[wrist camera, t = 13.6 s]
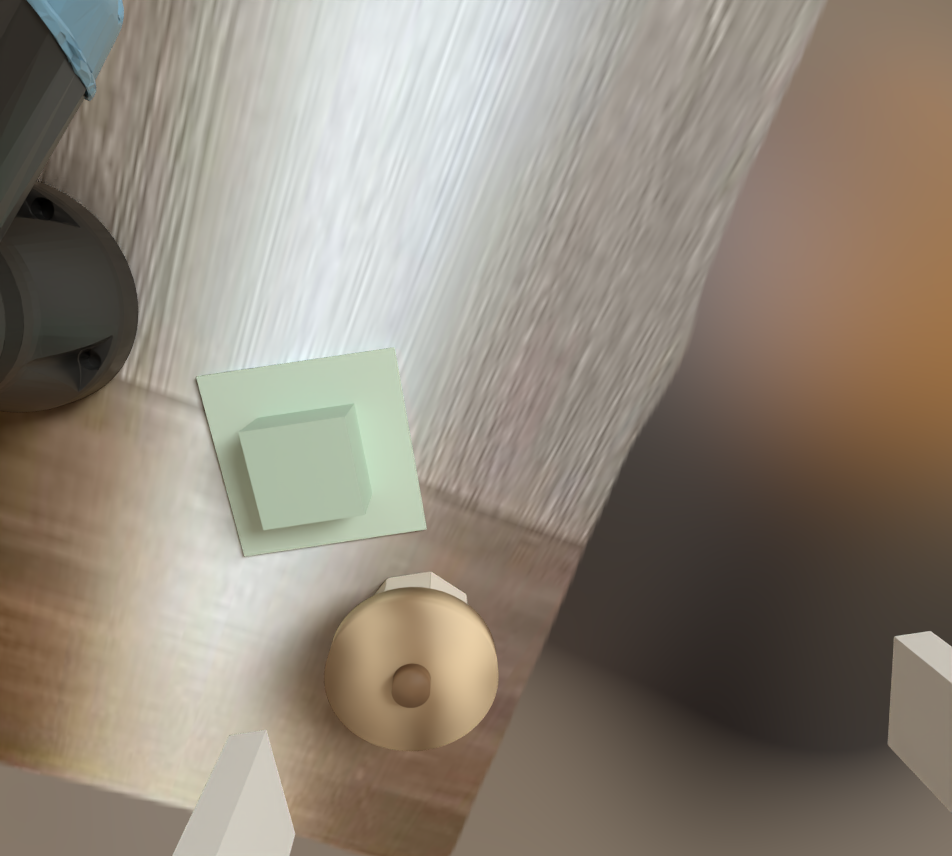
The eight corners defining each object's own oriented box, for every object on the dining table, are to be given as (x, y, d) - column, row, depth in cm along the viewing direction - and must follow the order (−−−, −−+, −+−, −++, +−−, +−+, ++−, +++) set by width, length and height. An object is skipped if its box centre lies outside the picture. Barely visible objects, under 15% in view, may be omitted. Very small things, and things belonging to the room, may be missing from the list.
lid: (347, 741, 44) (340, 777, 41) (313, 600, 41) (302, 627, 38) (505, 717, 44) (510, 750, 41) (484, 574, 41) (487, 599, 38)
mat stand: (246, 554, 45) (225, 583, 41) (198, 376, 41) (169, 387, 37) (426, 527, 45) (424, 553, 41) (394, 347, 41) (388, 355, 37)
